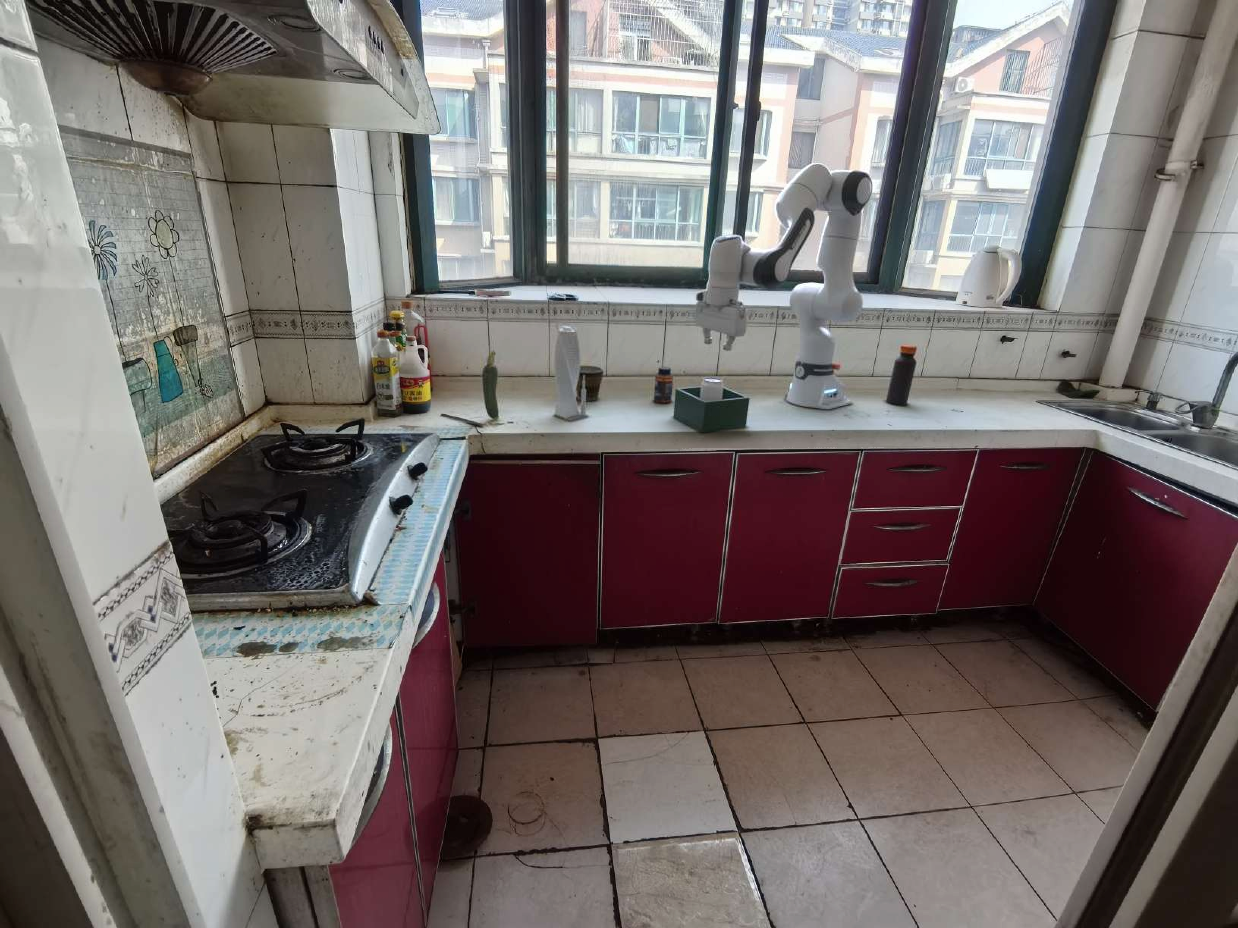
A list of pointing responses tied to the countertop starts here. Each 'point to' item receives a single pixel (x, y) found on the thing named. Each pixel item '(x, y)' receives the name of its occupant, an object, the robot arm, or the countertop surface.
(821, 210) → the robot arm
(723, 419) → the bin
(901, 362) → the vinegar
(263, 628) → the countertop surface
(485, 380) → the vegetable
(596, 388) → the ceramic cup
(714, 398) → the can
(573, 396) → the skyscraper
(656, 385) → the supplement bottle
